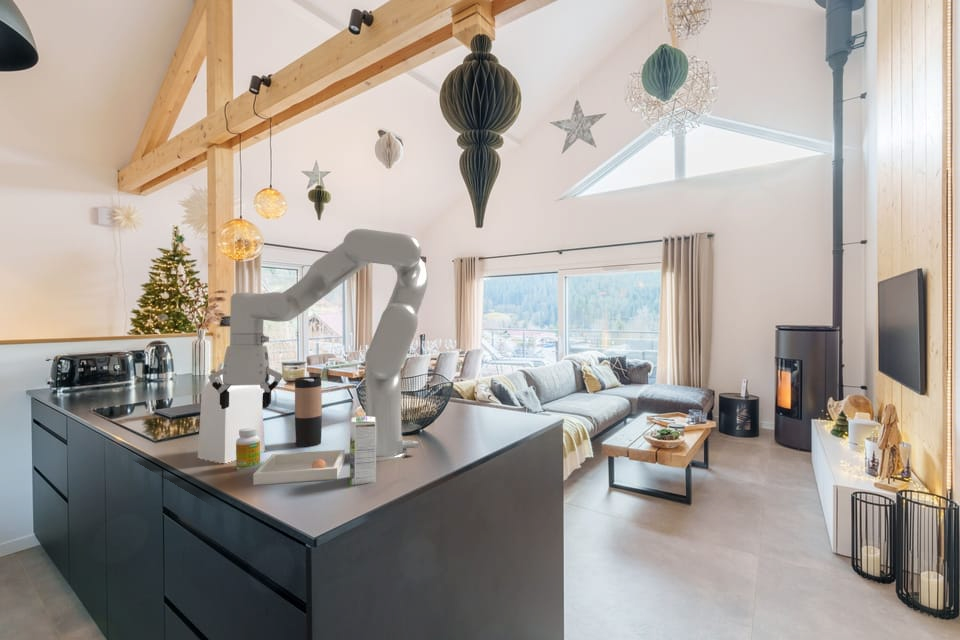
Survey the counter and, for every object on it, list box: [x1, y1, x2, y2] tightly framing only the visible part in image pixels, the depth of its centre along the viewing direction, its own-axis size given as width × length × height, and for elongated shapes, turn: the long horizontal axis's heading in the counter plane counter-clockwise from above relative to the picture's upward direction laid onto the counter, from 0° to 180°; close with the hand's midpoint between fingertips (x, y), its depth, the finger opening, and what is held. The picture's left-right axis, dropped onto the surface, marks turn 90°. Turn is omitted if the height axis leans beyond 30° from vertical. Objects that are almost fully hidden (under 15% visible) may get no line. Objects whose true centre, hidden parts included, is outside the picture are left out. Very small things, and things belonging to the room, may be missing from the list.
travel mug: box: [294, 376, 323, 448], centre depth 132 cm, size 8×8×20 cm
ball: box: [312, 459, 326, 469], centre depth 105 cm, size 3×3×3 cm
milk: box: [197, 362, 266, 464], centre depth 122 cm, size 12×12×26 cm
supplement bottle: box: [235, 427, 261, 470], centre depth 111 cm, size 5×5×10 cm
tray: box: [252, 449, 346, 486], centre depth 106 cm, size 18×15×3 cm
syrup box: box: [349, 415, 377, 486], centre depth 100 cm, size 6×6×14 cm
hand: (245, 407), depth 111 cm, fingers open, 9 cm apart
